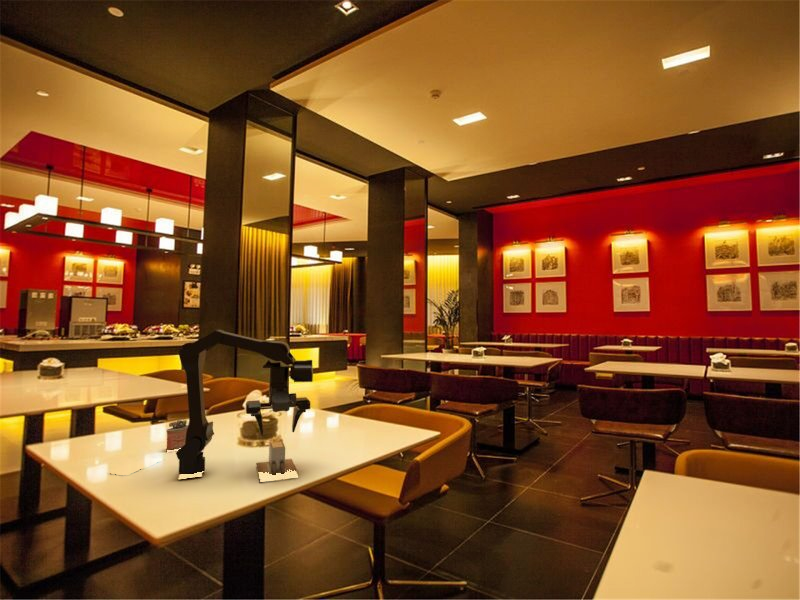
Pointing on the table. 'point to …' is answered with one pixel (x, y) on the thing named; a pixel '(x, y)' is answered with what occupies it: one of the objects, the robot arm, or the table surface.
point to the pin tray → (284, 467)
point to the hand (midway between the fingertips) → (277, 433)
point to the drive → (276, 454)
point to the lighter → (176, 435)
